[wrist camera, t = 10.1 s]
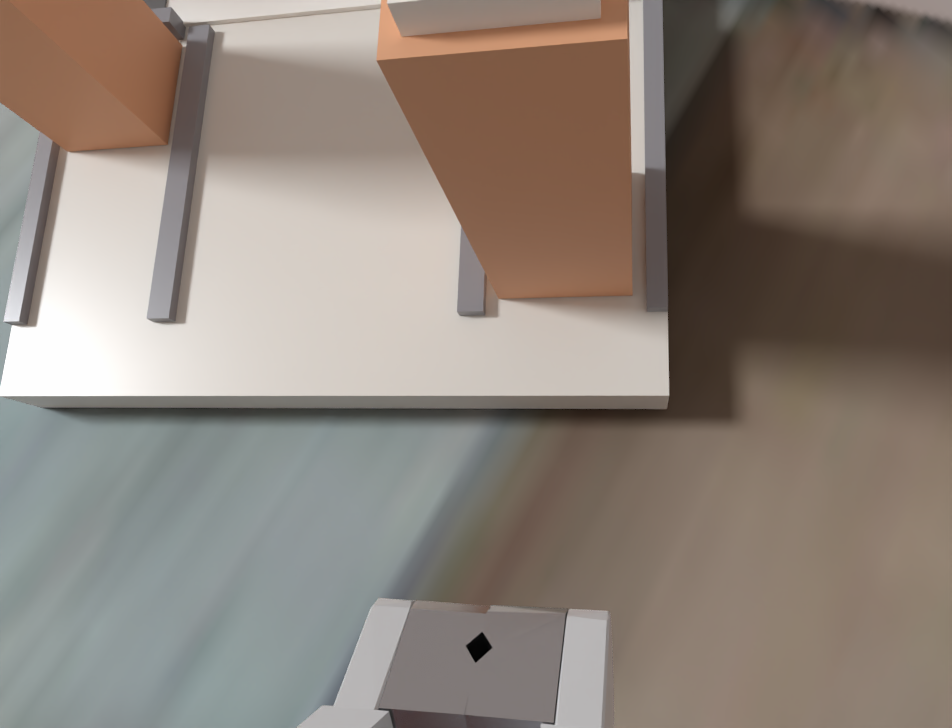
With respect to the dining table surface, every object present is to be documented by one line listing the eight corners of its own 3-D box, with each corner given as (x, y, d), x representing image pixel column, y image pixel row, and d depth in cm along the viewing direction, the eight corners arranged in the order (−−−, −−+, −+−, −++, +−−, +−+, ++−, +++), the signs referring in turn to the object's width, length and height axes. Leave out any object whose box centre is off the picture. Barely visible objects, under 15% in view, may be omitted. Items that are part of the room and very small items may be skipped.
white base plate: (40, 407, 29) (-25, 389, 26) (107, 23, 33) (57, -29, 30) (667, 408, 25) (670, 387, 22) (658, -34, 29) (661, -101, 26)
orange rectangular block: (498, 298, 24) (360, 28, 12) (502, 178, 25) (378, -183, 13) (632, 295, 24) (626, 2, 11) (631, 171, 25) (625, -219, 12)
